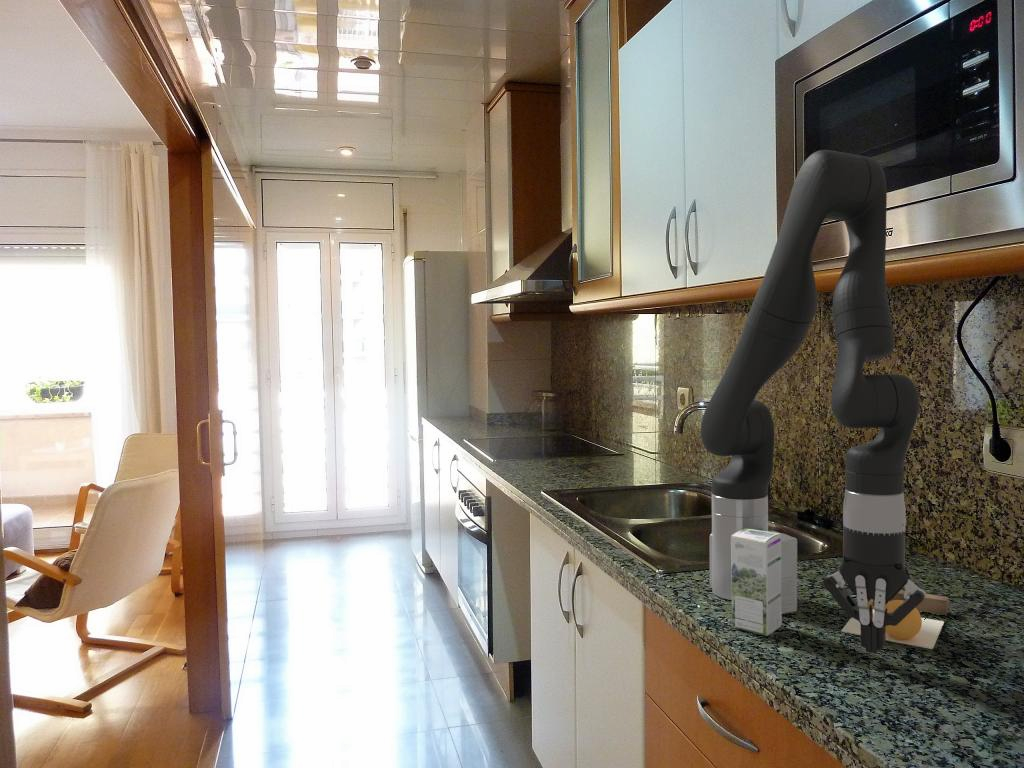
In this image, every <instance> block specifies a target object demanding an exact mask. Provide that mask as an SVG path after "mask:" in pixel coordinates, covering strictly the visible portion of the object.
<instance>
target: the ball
mask: <svg viewBox="0 0 1024 768" xmlns="http://www.w3.org/2000/svg"><path fill="white" fill-rule="evenodd" d="M903 602H904V601H903V600H893V601H890V602H889V605H888V612H887V613H892V612H894V611H895V610H896V609H897V608H898V607H899V606H900V605H901V604H902V603H903ZM920 613H921V612H919V611H918V610H917V609H916V608H914V609H913V610H912V611H911V612H910V613H909V614H908V615H907V616H906V617H905V618H904V619H903V620H902V621H901V622H899V623H898V624H897V625H896V626H892V625H887V626H886V633H887V634H889V635H890V636H892V637H894V638H897V639H910V638H912V637H914V636H915V635H917V634H918V632H919V631H920V629H921V626H922V619H921V618H922V616H921V614H920Z"/></svg>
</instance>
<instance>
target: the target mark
mask: <svg viewBox="0 0 1024 768" xmlns="http://www.w3.org/2000/svg"><path fill="white" fill-rule="evenodd" d="M874 611H875V610H874V608H873V620H872V621H873V622H874ZM925 618H926V617H921V619H922V626H921V629H920V631H919V632H918V634H917V635H915V636H914V637H912V638H910V639H897V638H894V637H892V636H890V635H889V634H887V633H886V636H885V637H886V639H885V640H886V641H887V642H893V643H898V644H904V645H908V646H913V647H920V648H923V649H924V648H925V649H929V650H933V649H934V647H935V645H936V644H937V643H936V642H937V640H938V638H939V636H940V634H941V632H942V629H943V627H942V626H944V624H945V621H943V620H937V619H934V618H932V619H931V618H926V619H925ZM924 619H925V620H924ZM841 633H846V634H851V635H856V636H861V625H860V622H859V621H858V620H856V619H854V618H849V620H848V621H847V622H846V624H845V625H844V627H843V628H842V629H841Z"/></svg>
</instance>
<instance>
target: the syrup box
mask: <svg viewBox="0 0 1024 768" xmlns="http://www.w3.org/2000/svg"><path fill="white" fill-rule="evenodd" d="M779 533H780V532H779ZM779 533H773V532H766V531H760V530H753V529H743V530H740V531H738V532H736V533H735V534H733V535H731V536H732V537H731V570H732V572H731V575H732V600H731V628H733V629H737V630H741V631H746V632H747V633H748V632H749V633H751V634H752V633H753V634H757V635H761V636H765V637H767V636H769V635H771V634H773V633H774V632H775V631H776V630H778V629H780V627H782V625H783V620H782V619H783V618H782V615H783V614H782V613H781V534H779Z"/></svg>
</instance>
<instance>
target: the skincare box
mask: <svg viewBox="0 0 1024 768" xmlns="http://www.w3.org/2000/svg"><path fill="white" fill-rule="evenodd" d="M766 532H773V533H779V534H781V613H782V615H785V614H790V613H794V612H795V613H796V612H797V611H798V539H797V537H793V536H790V535H788V534H787V533H781V532H778V531H775V530H768V531H766Z"/></svg>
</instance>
